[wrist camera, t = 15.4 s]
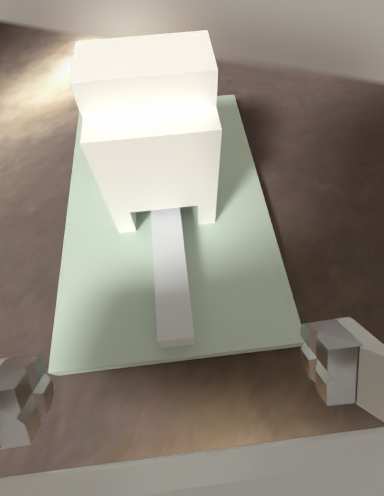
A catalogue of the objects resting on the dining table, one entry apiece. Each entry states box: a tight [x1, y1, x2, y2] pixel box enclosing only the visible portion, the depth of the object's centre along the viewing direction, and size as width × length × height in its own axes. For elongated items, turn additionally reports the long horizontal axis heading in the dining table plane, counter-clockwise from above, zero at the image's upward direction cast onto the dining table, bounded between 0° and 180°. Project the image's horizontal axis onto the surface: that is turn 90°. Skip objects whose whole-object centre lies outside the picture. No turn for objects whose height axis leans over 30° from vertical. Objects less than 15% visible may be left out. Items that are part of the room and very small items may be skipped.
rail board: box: [48, 95, 305, 376], centre depth 18 cm, size 19×12×2 cm, turn 6°
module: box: [69, 30, 222, 233], centre depth 15 cm, size 5×6×8 cm
